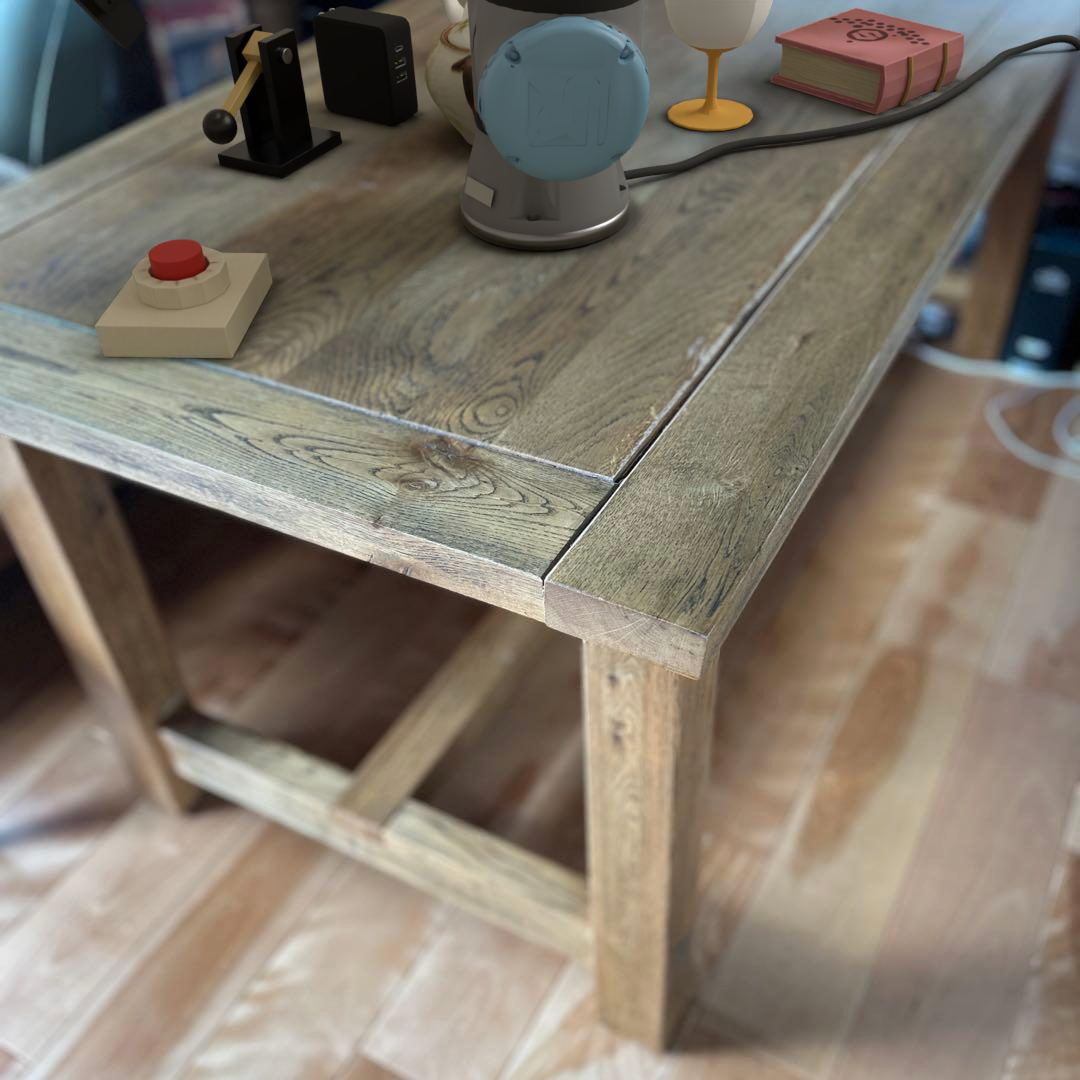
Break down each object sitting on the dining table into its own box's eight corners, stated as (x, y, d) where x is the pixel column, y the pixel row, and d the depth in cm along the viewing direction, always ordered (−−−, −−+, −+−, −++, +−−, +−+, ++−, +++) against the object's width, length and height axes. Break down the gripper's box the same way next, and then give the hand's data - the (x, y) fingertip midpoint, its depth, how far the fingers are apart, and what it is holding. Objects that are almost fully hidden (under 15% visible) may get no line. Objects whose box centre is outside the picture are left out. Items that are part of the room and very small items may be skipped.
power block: (156, 281, 93) (142, 231, 90) (273, 282, 93) (262, 232, 90) (104, 357, 84) (86, 304, 81) (232, 358, 84) (219, 305, 81)
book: (883, 116, 117) (891, 67, 113) (770, 82, 125) (775, 35, 122) (961, 82, 123) (971, 35, 120) (849, 52, 132) (855, 7, 129)
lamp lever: (233, 154, 105) (216, 131, 103) (208, 149, 107) (189, 125, 104) (290, 55, 108) (274, 30, 105) (264, 51, 109) (248, 26, 107)
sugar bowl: (548, 179, 107) (544, 13, 97) (402, 167, 110) (384, 5, 100) (593, 107, 121) (594, -44, 111) (463, 98, 124) (453, -49, 115)
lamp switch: (282, 178, 109) (259, 53, 101) (219, 165, 112) (192, 42, 104) (342, 143, 115) (324, 22, 108) (281, 131, 118) (260, 13, 111)
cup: (717, 89, 124) (729, -82, 113) (788, 119, 117) (809, -61, 106) (632, 112, 120) (636, -64, 109) (701, 145, 112) (713, -40, 101)
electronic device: (395, 127, 118) (383, 28, 112) (325, 111, 123) (310, 14, 116) (419, 115, 121) (409, 17, 114) (350, 99, 125) (337, 4, 119)
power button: (163, 259, 87) (158, 238, 86) (213, 259, 87) (208, 238, 86) (146, 283, 84) (140, 262, 83) (197, 284, 84) (192, 262, 83)
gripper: (-208, -212, 71) (61, 44, 92) (-116, -166, 65) (149, 97, 86) (-135, -302, 71) (116, -26, 92) (-37, -264, 65) (208, 21, 86)
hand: (132, 33), depth 89 cm, fingers closed
